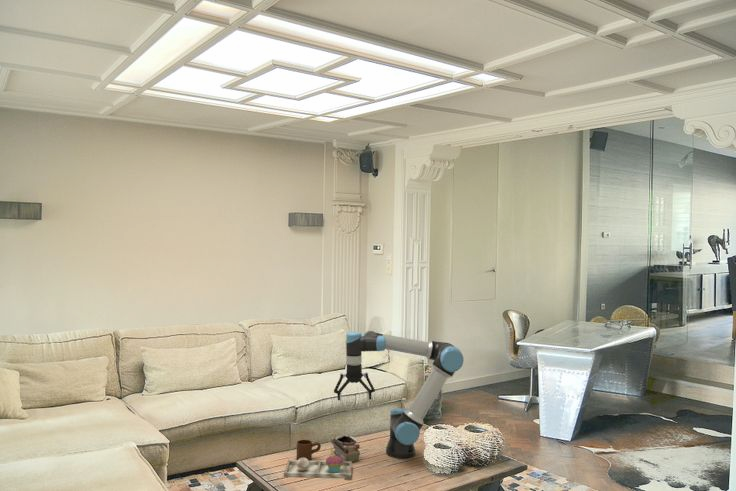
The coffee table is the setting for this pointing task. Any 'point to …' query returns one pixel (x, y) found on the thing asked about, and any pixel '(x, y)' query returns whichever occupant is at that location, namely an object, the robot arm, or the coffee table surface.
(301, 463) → the wooden egg
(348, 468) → the divided tray
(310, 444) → the mug
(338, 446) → the decorative box
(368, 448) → the coffee table surface
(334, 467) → the cupcake
